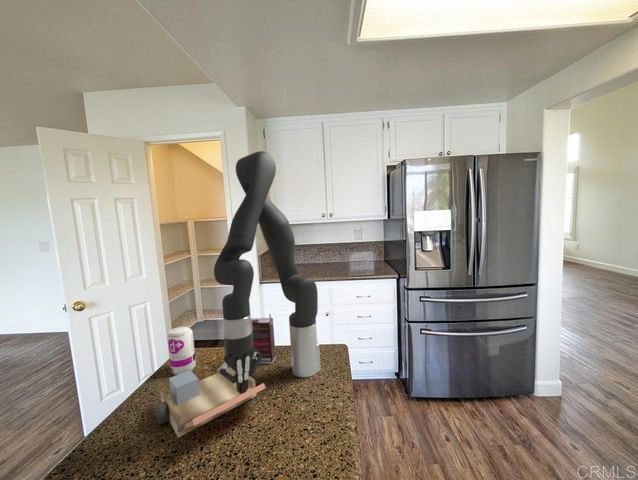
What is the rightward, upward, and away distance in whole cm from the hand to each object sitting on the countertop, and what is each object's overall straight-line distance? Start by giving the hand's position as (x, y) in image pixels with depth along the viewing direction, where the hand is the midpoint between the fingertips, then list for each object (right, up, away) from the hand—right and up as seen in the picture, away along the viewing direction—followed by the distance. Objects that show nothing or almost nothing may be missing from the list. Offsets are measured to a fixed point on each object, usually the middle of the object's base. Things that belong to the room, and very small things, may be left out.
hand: (242, 392), depth 76 cm
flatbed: (-11, -6, +6) cm, 14 cm away
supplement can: (-29, -6, +25) cm, 39 cm away
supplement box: (0, -4, +29) cm, 29 cm away
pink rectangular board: (-6, -4, 0) cm, 7 cm away
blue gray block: (-19, -4, +5) cm, 20 cm away
